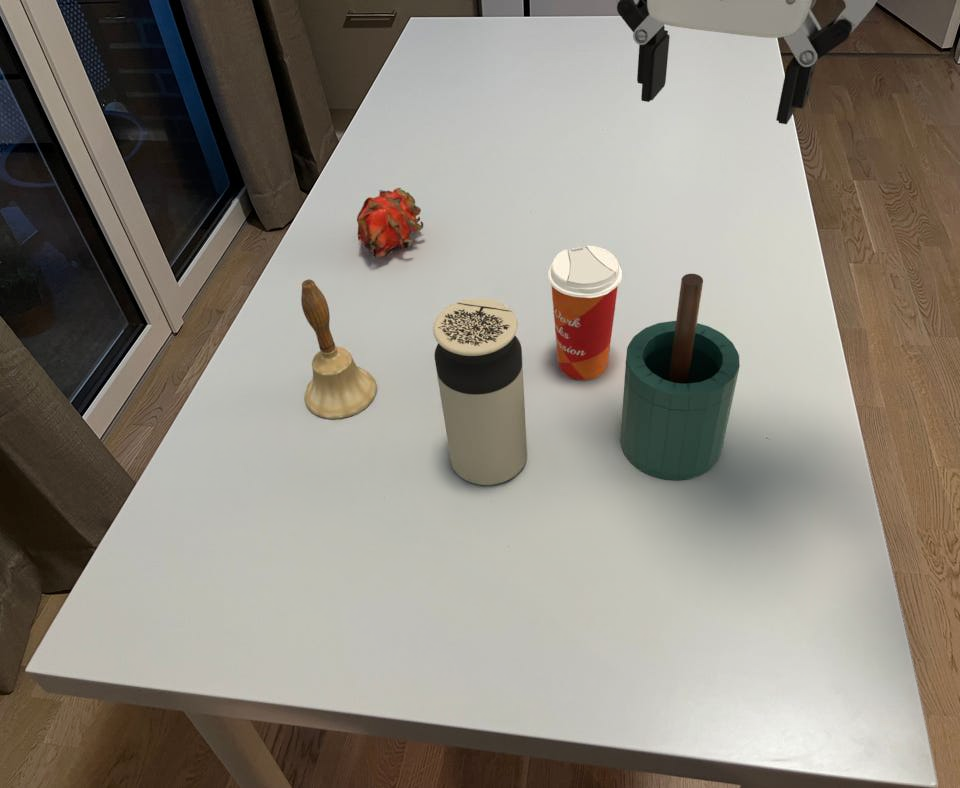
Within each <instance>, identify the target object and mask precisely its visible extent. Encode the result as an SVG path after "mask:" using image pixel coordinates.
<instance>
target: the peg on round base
mask: <svg viewBox="0 0 960 788" xmlns="http://www.w3.org/2000/svg"><path fill="white" fill-rule="evenodd" d="M680 280H681V281H680V288H679V295H678V296H679V297H678V304H677V312H676V319H675V321H676V326H675V334H674V342H673V350H672V358H671V366H670V373H669V381H670V382H674V383H683V384H688V378H689V372H690V365H691V358H692V352H693V345H694V339H695V332H696V325H697V323H698V318H699V312H700V306H701V305H700V304H701V298H702V293H703V292H702V291H703V287H704V285H703V284H704V279H703V277H702V276H701V275H699V274H697V273H686V274H684V275H683V276H682V277H681V279H680Z"/></svg>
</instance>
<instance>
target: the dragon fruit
mask: <svg viewBox="0 0 960 788" xmlns="http://www.w3.org/2000/svg"><path fill="white" fill-rule="evenodd" d="M378 192H379V193H378V196H376V197H375V196H374V197H367V198H366V199H365V200H364V201H363V205H362V207H361V209H360V211H359V212H358V214H357V217H356V222H357V240H358V242H361V243H362V245H363V247H364V248H365V249H368V251H370V253H372V257H374V258H375V259H376V258H379V259H380V258H384V257H388V256H390V255H391V254H392V253H393V250H391V249H393V248H395V247H396V246H398V247H399V248H400V249H401V250H402V249H403V250H405V249H408V248H410V246H411V245H412V244H413V242H414V240H413V239H412V238H411V234H412V232H415V233H418V232H419V231H422V229H423V228H424V222H423V221H421V217H420V216H419V215H420V214H421V212H422V208H420V207H419V206H417V205H416V199H415V198H414V196H413V195H411V194H410V192H408V191H407V192H406V191H405V190H404V189H402V188H401V187H397V188H394V189H393V190H391V191H390V190H383V189H381V190H380V189H379V191H378ZM417 216H418V218H417ZM419 222H420V223H419ZM390 250H391V251H390Z"/></svg>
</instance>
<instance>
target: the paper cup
mask: <svg viewBox="0 0 960 788" xmlns="http://www.w3.org/2000/svg"><path fill="white" fill-rule="evenodd" d="M622 279H623V271H622V268H621V266H620V265H619V261H618V259H617V258H616V256H615V255H614V254H613V253H612V252H610V251H609V250H607V249H605V248H604V247H603V248H602V247H600V246H595V245H585V247H583V246H576V247H572V248H570V249H569V250H568V249H567V248H566V249H564V250H562V251H560V252H559V253H558V254H556V256H554V258H553V260H552V262H551V265H550V267H549V268H548V271H547V280H548V282H549V284H550V287H551V298H552V308H553V321H554V331H555V332H554V333H555V343H556V354H557V363H558V367H559V369H560V371H561V372H562V373H563V374H564V375H565V376H566V377H568V378H570V379H573V380H577V381H589V380H593V379H596V378H598V377H600V376H601V375H602V374H604V373H605V371H606V370H607V366H608V362H609V357H610V348H611V341H612V334H613V327H614V320H615V319H614V318H615V310H616V303H617V295H618V290H619V289H618V288H619V285H620V283H621V282H622Z"/></svg>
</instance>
